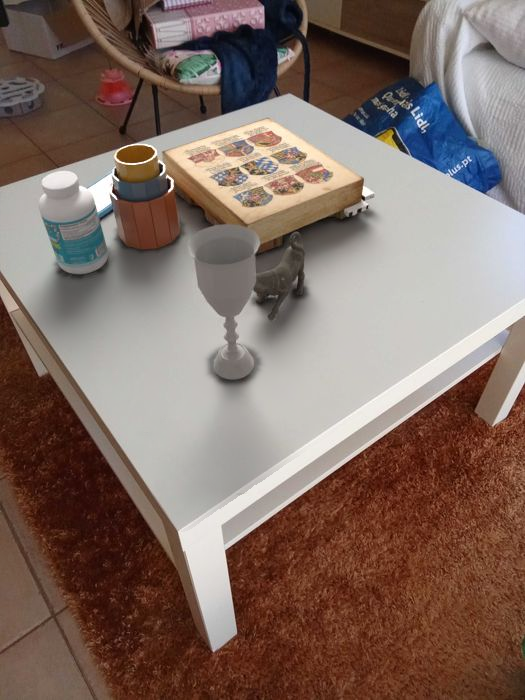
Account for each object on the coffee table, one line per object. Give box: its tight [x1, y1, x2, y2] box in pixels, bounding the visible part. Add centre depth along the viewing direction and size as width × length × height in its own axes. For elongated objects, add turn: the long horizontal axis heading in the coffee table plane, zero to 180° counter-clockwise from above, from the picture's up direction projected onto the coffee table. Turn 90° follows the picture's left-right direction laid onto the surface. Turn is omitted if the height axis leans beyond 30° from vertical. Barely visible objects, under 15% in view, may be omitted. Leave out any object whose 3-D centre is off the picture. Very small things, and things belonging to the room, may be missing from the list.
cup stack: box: [109, 159, 181, 251], centre depth 86 cm, size 9×9×11 cm
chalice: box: [187, 224, 260, 381], centre depth 63 cm, size 7×7×18 cm
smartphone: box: [85, 170, 113, 220], centre depth 96 cm, size 8×1×15 cm
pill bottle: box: [38, 170, 109, 275], centre depth 79 cm, size 8×7×14 cm
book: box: [161, 117, 375, 255], centre depth 93 cm, size 25×6×28 cm
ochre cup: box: [113, 143, 161, 183], centre depth 84 cm, size 6×6×12 cm
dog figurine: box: [252, 231, 306, 322], centre depth 75 cm, size 12×6×7 cm, turn 150°
